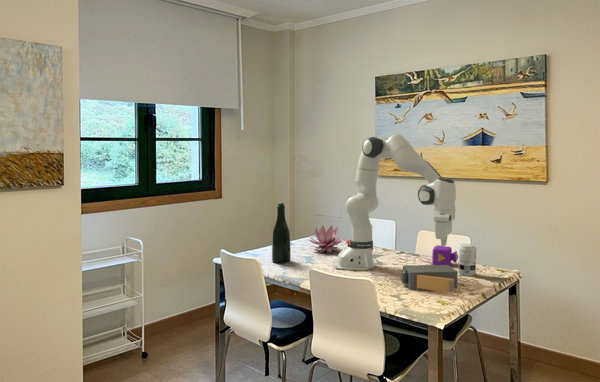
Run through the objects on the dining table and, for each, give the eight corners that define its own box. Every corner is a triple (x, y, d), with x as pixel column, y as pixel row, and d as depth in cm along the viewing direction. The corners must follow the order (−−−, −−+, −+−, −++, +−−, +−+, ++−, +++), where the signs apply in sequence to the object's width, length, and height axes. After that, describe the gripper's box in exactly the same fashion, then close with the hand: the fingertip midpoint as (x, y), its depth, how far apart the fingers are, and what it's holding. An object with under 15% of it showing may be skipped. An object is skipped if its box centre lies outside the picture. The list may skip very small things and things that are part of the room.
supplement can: (455, 272, 250) (456, 243, 249) (471, 272, 251) (472, 243, 249) (462, 276, 242) (463, 247, 241) (478, 276, 243) (479, 246, 241)
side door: (416, 288, 220) (416, 275, 219) (417, 287, 221) (417, 274, 221) (452, 293, 213) (453, 280, 212) (453, 292, 214) (453, 279, 214)
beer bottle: (282, 264, 266) (282, 204, 263) (268, 261, 272) (267, 203, 269) (294, 260, 274) (294, 202, 271) (280, 258, 281) (279, 201, 277)
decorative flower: (301, 251, 299) (301, 226, 297) (325, 245, 313) (325, 222, 312) (326, 257, 283) (326, 231, 281) (350, 251, 297) (351, 227, 296)
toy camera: (459, 267, 260) (459, 249, 259) (432, 266, 262) (433, 248, 261) (456, 262, 270) (457, 245, 269) (431, 261, 273) (431, 244, 272)
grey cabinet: (406, 289, 221) (406, 272, 221) (399, 282, 233) (399, 265, 232) (457, 288, 223) (457, 271, 222) (447, 281, 235) (448, 264, 234)
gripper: (441, 211, 225) (440, 240, 226) (432, 217, 207) (431, 249, 208) (455, 212, 222) (454, 241, 224) (448, 218, 204) (447, 251, 205)
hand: (443, 245), depth 216 cm, fingers closed
